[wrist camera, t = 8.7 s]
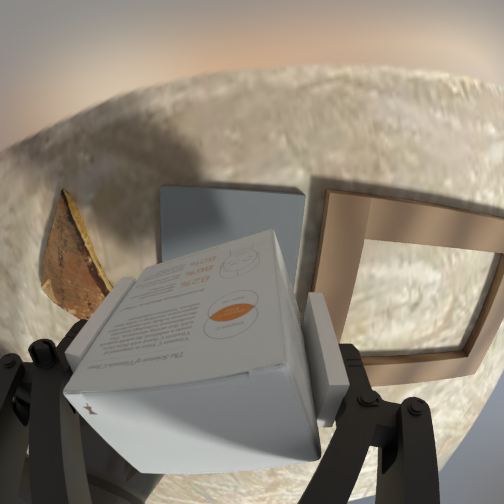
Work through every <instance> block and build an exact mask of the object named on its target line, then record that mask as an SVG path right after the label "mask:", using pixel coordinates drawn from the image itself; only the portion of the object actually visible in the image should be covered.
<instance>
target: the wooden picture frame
mask: <svg viewBox="0 0 504 504" xmlns="http://www.w3.org/2000/svg"><path fill="white" fill-rule="evenodd" d="M364 239H370V240H381V241H392V242H402V243H412V244H422V245H432V246H442V247H451V248H460V249H469V250H478V251H487V252H495V253H502V255H501V259H500V262H499V265H498V268H497V271H496V274H495V277H494V280H493V282H492V285H491V288H490V290H489V293H488V296H487V298H486V301H485V303H484V306H483V308H482V311H481V313H480V315H479V318H478V320H477V322H476V325H475V327H474V329H473V331H472V333H471V335H470V338H469V340H468V342H467V344H466V346H465V348H464V350H463V351H453V352H443V353H432V354H419V355H404V356H383V357H361V360H362V362H363V365H364V368H365V370H366V373H367V376H368V379H369V382H370V385H371V387H373V386H387V385H399V384H409V383H418V382H427V381H435V380H442V379H449V378H455V377H461V376H467V375H472V374H475V372H476V371H477V369H478V367H479V365H480V364H481V362H482V360H483V358H484V356H485V355H486V353H487V351H488V349H489V347H490V345H491V343H492V341H493V339H494V337H495V335H496V333H497V331H498V329H499V327H500V324H501V322H502V320H503V318H504V218H502V217H497V216H493V215H488V214H483V213H478V212H473V211H468V210H463V209H458V208H453V207H447V206H442V205H436V204H430V203H424V202H418V201H412V200H405V199H399V198H392V197H385V196H378V195H371V194H363V193H355V192H347V191H338V190H329V189H326V196H325V203H324V211H323V218H322V225H321V232H320V239H319V246H318V252H317V259H316V265H315V271H314V277H313V283H312V289H311V292H316V293H323V296H324V299H325V302H326V306H327V309H328V312H329V315H330V319H331V322H332V325H333V328H334V332H335V335H336V338H337V342H338V344H339V343H340V339H341V336H342V332H343V328H344V325H345V321H346V317H347V313H348V309H349V305H350V301H351V297H352V293H353V289H354V285H355V281H356V276H357V272H358V267H359V263H360V258H361V253H362V248H363V243H364Z"/></svg>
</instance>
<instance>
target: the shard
mask: <svg viewBox="0 0 504 504" xmlns="http://www.w3.org/2000/svg"><path fill="white" fill-rule="evenodd" d="M42 276H43V278H42V284H41V287H42V290H43V291H44V292H45V294H46V295H47V296H48V297H49V298H50V299H51V300H52V301H53V302H54V303H55V304H57V305H58V306H60V307H61V308H62V309H65V310H66V311H67V312H69V313H71V314H72V315H74V316H75V317H77V318H78V319H80V320H81V319H86V320H89V319H90V317H91V316H92V315H93V313H94V312H95V311H96V309H97V308H98V307H99V306H100V304H101V303H102V302H103V300H104V299H105V298H106V297H107V295H108V294H109V293H110V292H111V290H112V289H113V287H112V285H111V284H110V283H109V281H108V279H107V278H106V277H105V275H104V271H103V269H102V268H101V267H100V265H99V262H98V259H97V257H96V255H95V252H94V248H93V245H92V243H91V241H90V238H89V236H88V234H87V230H86V227H85V226H84V223H83V220H82V217H81V215H80V213H79V211H78V209H77V207H76V206H75V203H74V201H73V199H72V197H71V196H70V194H69V193H68V192H67V193H66V192H65V190H64V189H62V190H61V195H60V199H59V202H58V205H57V210H56V216H55V219H54V223H53V226H52V230H51V233H50V236H49V238H48V244H47V249H46V251H45V256H44V264H43V270H42Z"/></svg>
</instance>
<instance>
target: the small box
mask: <svg viewBox="0 0 504 504" xmlns="http://www.w3.org/2000/svg"><path fill="white" fill-rule="evenodd" d="M63 394H64V396H65V397H66V398H67V399H68V401H69V402H70V403H71V404H72V405H73V407H74V408H75V409H76V410H77V411H78V412H79V414H80V415H81V416H82V417H83V418H84V419H85V420H86V421H87V422H88V423H89V424H90V426H91V427H92V428H93V429H94V430H95V431H96V432H97V433H98V434H99V435H100V436H101V437H102V438H103V439H104V440H105V441H106V442H107V443H108V444H109V445H110V446H112V447H113V448H114V449H115V450H116V451H117V452H118V453H119V454H120V455H121V456H122V457H123V458H124V459H125V460H127V461H128V462H129V463H130V464H131V465H132V466H133V467H135V468H136V469H137V470H138V471H139V472H141V473H154V474H212V473H229V472H242V471H251V470H260V469H269V468H275V467H282V466H289V465H295V464H300V463H306V462H311V461H316V460H319V459H320V458H321V445H320V438H319V431H318V424H317V418H316V411H315V405H314V398H313V391H312V385H311V377H310V369H309V364H308V359H307V354H306V349H305V343H304V336H303V330H302V325H301V320H300V315H299V310H298V306H297V302H296V298H295V295H294V292H293V288H292V285H291V282H290V278H289V275H288V272H287V269H286V265H285V262H284V259H283V256H282V253H281V250H280V247H279V244H278V241H277V238H276V234H275V231H274V230H273V229H269V230H266V231H263V232H260V233H256V234H253V235H250V236H246V237H243V238H240V239H237V240H233V241H230V242H227V243H224V244H220V245H217V246H214V247H211V248H207V249H204V250H201V251H198V252H194V253H191V254H188V255H185V256H182V257H178V258H175V259H172V260H169V261H166V262H163V263H159V264H156V265H153V266H149V267H147V268H146V269H145V270H144V271H143V273H142V274H141V275H140V277H139V278H138V279H137V281H136V282H135V283H134V285H133V286H132V287H131V289H130V290H129V292H128V293H127V294H126V296H125V297H124V299H123V300H122V301H121V303H120V304H119V306H118V307H117V309H116V310H115V311H114V313H113V314H112V316H111V317H110V319H109V320H108V322H107V323H106V324H105V326H104V327H103V329H102V330H101V332H100V333H99V335H98V336H97V338H96V339H95V341H94V342H93V344H92V346H91V347H90V349H89V350H88V352H87V353H86V355H85V356H84V358H83V359H82V361H81V362H80V364H79V366H78V367H77V369H76V370H75V372H74V374H73V375H72V377H71V378H70V380H69V382H68V383H67V385H66V386H65V388H64V390H63Z"/></svg>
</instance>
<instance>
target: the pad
mask: <svg viewBox="0 0 504 504" xmlns="http://www.w3.org/2000/svg"><path fill="white" fill-rule="evenodd" d="M305 197H306V196H305V194H299V193H287V192H275V191H262V190H248V189H232V188H214V187H192V186H161V187H160V226H161V250H162V263H163V262H166V261H169V260H172V259H175V258H178V257H182V256H185V255H188V254H191V253H194V252H198V251H201V250H204V249H207V248H211V247H214V246H217V245H220V244H224V243H227V242H230V241H233V240H237V239H240V238H243V237H246V236H250V235H253V234H256V233H260V232H263V231H266V230H269V229H273V230H274V231H275V234H276V238H277V241H278V244H279V247H280V250H281V253H282V256H283V259H284V262H285V265H286V269H287V272H288V275H289V278H290V282H291V285H292V288H293V290H294V283H295V276H296V269H297V262H298V254H299V247H300V239H301V231H302V223H303V215H304V206H305Z"/></svg>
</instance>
